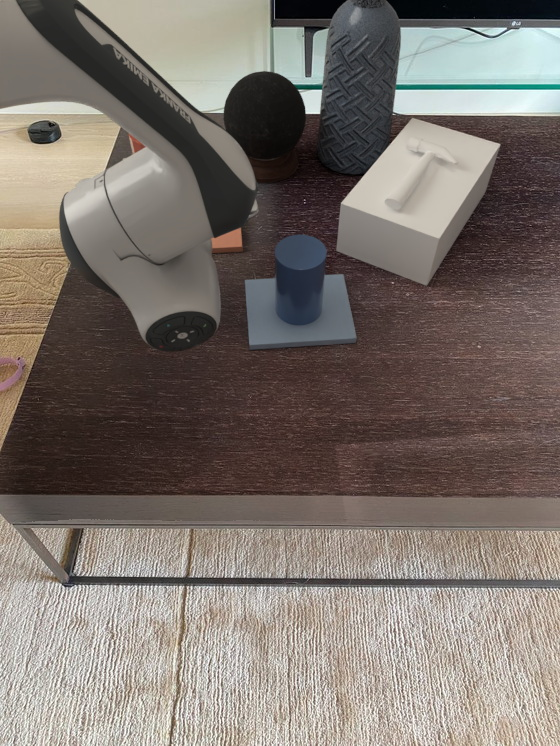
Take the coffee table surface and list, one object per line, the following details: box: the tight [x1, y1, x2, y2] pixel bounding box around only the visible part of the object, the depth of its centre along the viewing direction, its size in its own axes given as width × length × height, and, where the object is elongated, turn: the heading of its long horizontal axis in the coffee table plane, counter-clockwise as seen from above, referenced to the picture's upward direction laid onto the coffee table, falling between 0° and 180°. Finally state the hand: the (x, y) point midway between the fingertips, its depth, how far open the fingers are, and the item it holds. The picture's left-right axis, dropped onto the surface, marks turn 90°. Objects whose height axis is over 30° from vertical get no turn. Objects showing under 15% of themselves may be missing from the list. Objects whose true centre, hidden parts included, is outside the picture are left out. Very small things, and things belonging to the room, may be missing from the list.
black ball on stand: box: [223, 70, 307, 184], centre depth 100 cm, size 13×13×15 cm
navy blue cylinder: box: [274, 234, 328, 325], centre depth 80 cm, size 6×6×10 cm
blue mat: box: [244, 273, 358, 351], centre depth 84 cm, size 14×12×1 cm
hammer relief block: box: [335, 117, 501, 287], centre depth 92 cm, size 14×25×11 cm, turn 150°
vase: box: [316, 0, 402, 175], centre depth 96 cm, size 12×12×28 cm
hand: (161, 159), depth 77 cm, fingers closed on terracotta cup, 6 cm apart
